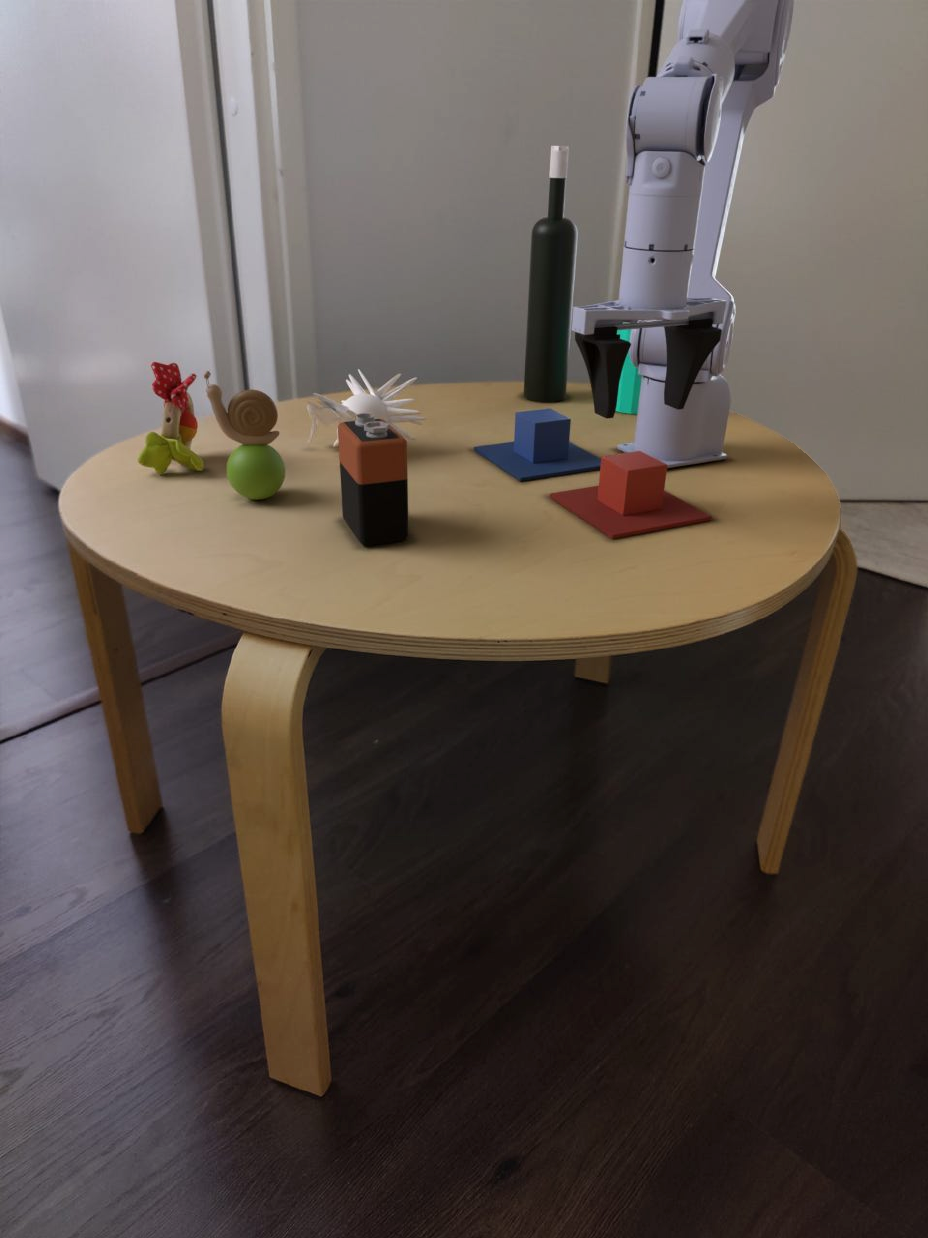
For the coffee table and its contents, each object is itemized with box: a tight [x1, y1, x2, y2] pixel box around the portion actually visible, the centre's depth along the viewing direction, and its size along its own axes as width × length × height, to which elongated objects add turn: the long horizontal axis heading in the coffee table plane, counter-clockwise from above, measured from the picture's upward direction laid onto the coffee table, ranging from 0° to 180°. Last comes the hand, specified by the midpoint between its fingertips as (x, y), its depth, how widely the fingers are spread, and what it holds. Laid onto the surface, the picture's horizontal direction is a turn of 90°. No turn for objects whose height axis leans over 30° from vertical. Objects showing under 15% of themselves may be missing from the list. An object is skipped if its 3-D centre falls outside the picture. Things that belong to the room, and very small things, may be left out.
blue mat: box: [473, 441, 601, 482], centre depth 95 cm, size 11×11×1 cm
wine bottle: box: [523, 145, 579, 403], centre depth 110 cm, size 6×6×30 cm
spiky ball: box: [306, 368, 427, 448], centre depth 94 cm, size 11×12×8 cm
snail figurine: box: [203, 370, 286, 501], centre depth 80 cm, size 5×6×12 cm
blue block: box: [513, 408, 572, 463], centre depth 93 cm, size 4×4×4 cm
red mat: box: [549, 485, 713, 540], centre depth 82 cm, size 11×11×1 cm
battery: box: [337, 413, 409, 547], centre depth 74 cm, size 4×7×10 cm, turn 22°
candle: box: [615, 329, 642, 415], centre depth 111 cm, size 6×6×12 cm
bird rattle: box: [137, 361, 205, 475], centre depth 89 cm, size 6×11×9 cm
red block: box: [597, 451, 668, 516], centre depth 81 cm, size 4×4×4 cm
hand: (639, 410), depth 78 cm, fingers open, 7 cm apart
